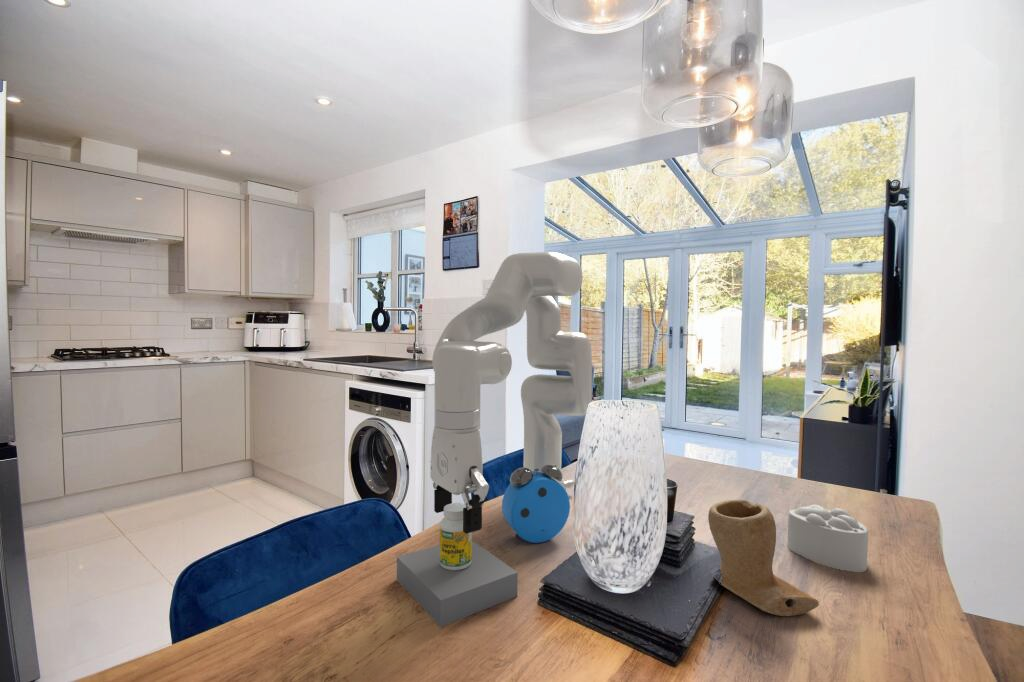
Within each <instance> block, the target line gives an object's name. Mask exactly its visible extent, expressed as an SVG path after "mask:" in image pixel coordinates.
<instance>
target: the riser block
mask: <svg viewBox="0 0 1024 682" xmlns="http://www.w3.org/2000/svg"><path fill="white" fill-rule="evenodd" d="M518 574H519V573H518V571H517V570H516V569H513V568H512V566H510V565H508V564H507V563H505V562H504V561H502V560H501V559H500V558H498V557H497V556H496V555H494V554H492V553H491V552H490V551H488V550H487V549H485V548H484V547H483V546H481V545H480V544H478V543H477V542H475V541H474V540H473V539H472V562H471V564H470V565H469V566H468V567H467V568H465V569H461V570H455V571H453V570H448V569H445V568H443V567H442V566H441V564H440V543H439V544H436V545H435V544H434V545H433V546H430V547H426V548H422V549H419V550H415V551H412V552H409V553H405V554H402V555H397V556H396V581H398V582H399V584H400V585H401V586H402V587H403V588H404V589H405V590H406V591H407V593H409V595H410V596H411V597H412V598H413V599H414V600H415V601H416V602H417V603H418V605H419V606H420V607H422V609H423V610H424V611H425V612H426V613H427V614H428V616H430V617H431V618H432V620H433V619H434V620H433V621H434V622H435V621H436V622H435V623H436V624H437V625H438V626H439V627H440V628H442V627H445V626H447V625H450V624H452V623H454V622H457V621H460V620H463V619H465V618H467V617H469V616H472V615H474V614H477V613H479V612H483V611H485V610H486V609H489V608H492V607H494V606H497V605H499V604H500V605H501V604H502V603H504V602H507V601H510V600H512V599H513V598H517V597H518V587H519V586H518V583H519V581H518V579H519V575H518Z"/></svg>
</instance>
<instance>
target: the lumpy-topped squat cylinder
mask: <svg viewBox="0 0 1024 682" xmlns="http://www.w3.org/2000/svg"><path fill="white" fill-rule="evenodd" d="M787 515H788V519H787V542H786V545H787V548H788V549H789V550H790V551H791V552H793V553H795V554H797V555H798V556H800V555H801V556H800V557H802V556H803V557H802V558H804V557H805V558H804V559H807V560H809V559H810V560H809V561H811V560H812V562H813V561H814V562H813V563H816V562H817V563H816V564H818V563H819V564H818V565H821V564H822V565H821V566H824V565H825V566H824V567H827V566H828V568H831V567H832V568H831V569H835V568H836V569H835V570H839V569H840V570H839V571H844V570H846V572H851V571H852V573H862V572H866V571H867V569H868V549H869V548H868V547H869V530H868V528H867V526H866V525H864V524H863V523H862V522H859V521H858V520H856V518H854V517H853V516H851V514H850V513H849V512H848V511H847V510H845V509H842V508H838V507H835V508H833V509H832V510H829V509H826V508H825V507H823V506H821V505H819V504H810V505H808V506H799V507H798V508H795V509H790V510H789V511H788V514H787Z"/></svg>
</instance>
